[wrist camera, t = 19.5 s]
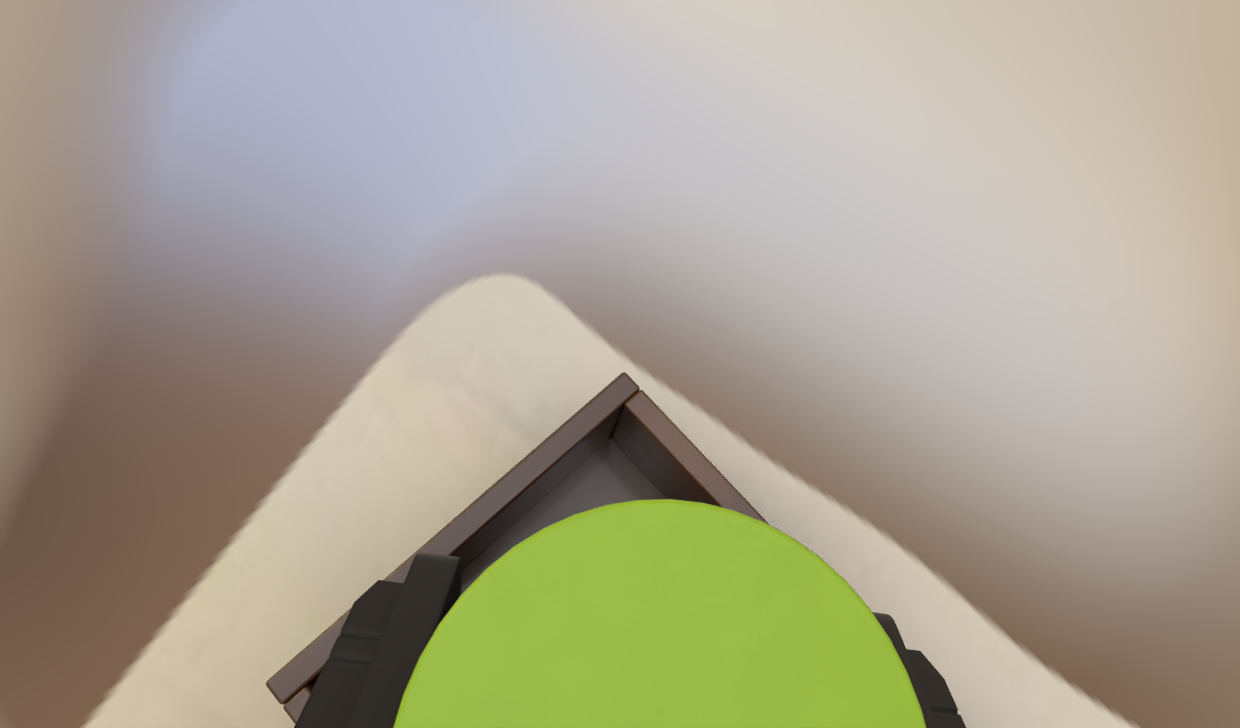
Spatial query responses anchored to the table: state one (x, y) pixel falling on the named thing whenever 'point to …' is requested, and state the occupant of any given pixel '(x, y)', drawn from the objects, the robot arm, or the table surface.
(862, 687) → the ball tube
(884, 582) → the table surface
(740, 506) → the bin
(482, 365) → the table surface
